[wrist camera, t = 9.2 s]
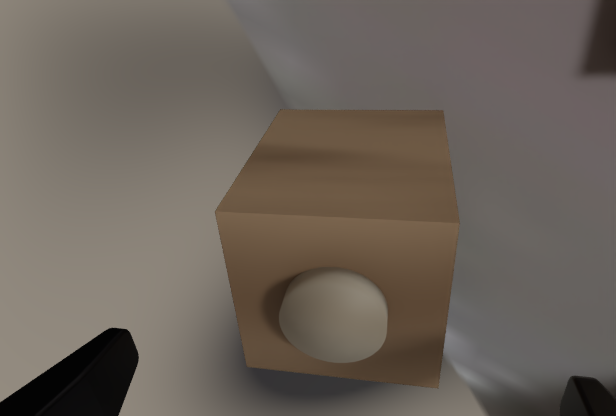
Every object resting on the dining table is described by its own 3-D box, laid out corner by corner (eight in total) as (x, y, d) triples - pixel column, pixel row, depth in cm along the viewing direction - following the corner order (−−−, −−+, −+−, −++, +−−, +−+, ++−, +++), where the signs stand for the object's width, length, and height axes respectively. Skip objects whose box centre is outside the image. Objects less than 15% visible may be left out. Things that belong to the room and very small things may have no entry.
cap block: (430, 244, 17) (439, 409, 11) (293, 236, 18) (240, 385, 12) (443, 109, 14) (462, 242, 9) (280, 109, 15) (204, 227, 9)
